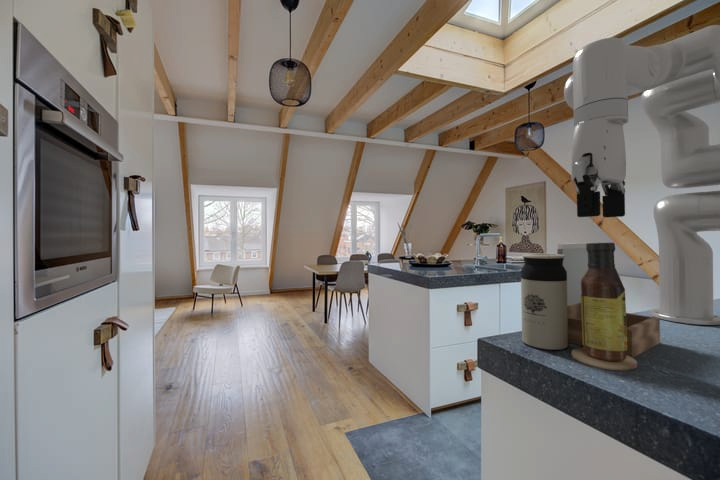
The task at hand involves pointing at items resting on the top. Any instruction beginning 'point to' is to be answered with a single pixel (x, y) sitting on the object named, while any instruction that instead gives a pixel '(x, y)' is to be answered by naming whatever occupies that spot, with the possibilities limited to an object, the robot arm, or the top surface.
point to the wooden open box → (639, 330)
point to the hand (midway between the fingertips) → (601, 216)
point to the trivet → (604, 361)
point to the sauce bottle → (603, 306)
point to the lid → (574, 269)
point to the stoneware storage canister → (544, 301)
